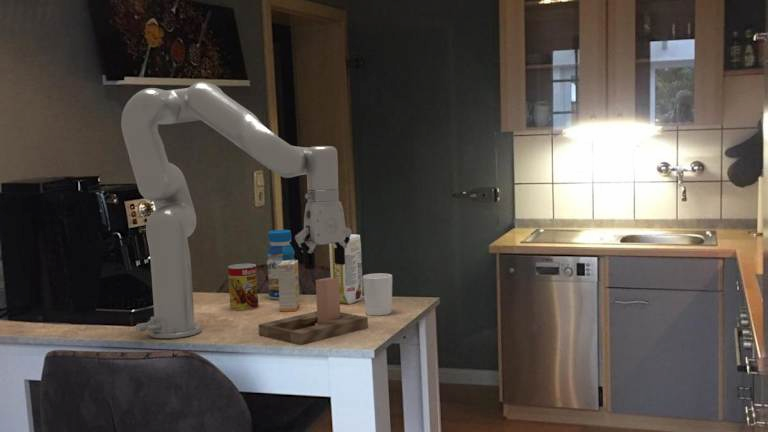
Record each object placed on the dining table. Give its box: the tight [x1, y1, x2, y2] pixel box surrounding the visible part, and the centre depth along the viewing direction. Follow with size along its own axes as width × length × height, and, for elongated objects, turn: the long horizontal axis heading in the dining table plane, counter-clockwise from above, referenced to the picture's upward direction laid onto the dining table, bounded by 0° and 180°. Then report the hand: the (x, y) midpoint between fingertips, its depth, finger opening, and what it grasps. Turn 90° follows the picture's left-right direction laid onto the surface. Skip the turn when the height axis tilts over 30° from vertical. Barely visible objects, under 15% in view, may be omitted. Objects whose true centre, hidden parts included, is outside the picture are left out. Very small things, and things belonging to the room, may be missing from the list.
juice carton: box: [328, 233, 364, 305], centre depth 234 cm, size 8×9×19 cm
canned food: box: [227, 263, 259, 312], centre depth 231 cm, size 8×8×12 cm
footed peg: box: [315, 277, 341, 325], centre depth 202 cm, size 7×7×12 cm
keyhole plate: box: [257, 310, 369, 346], centre depth 199 cm, size 21×16×3 cm
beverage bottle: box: [266, 229, 296, 301], centre depth 244 cm, size 8×8×20 cm
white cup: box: [362, 272, 393, 316], centre depth 217 cm, size 8×8×10 cm
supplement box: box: [278, 259, 301, 312], centre depth 227 cm, size 8×5×13 cm, turn 179°
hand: (325, 266), depth 201 cm, fingers open, 9 cm apart
